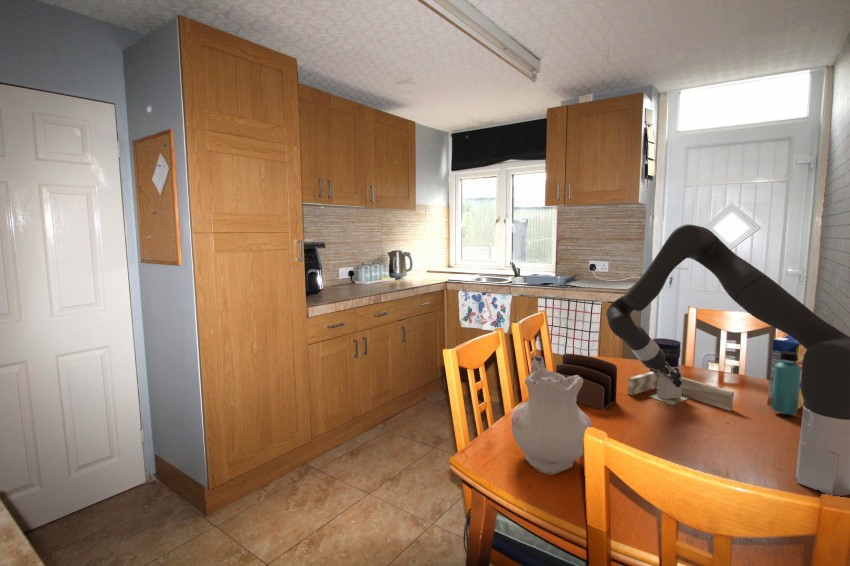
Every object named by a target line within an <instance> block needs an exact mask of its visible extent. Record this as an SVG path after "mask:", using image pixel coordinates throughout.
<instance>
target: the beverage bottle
mask: <svg viewBox="0 0 850 566" xmlns="http://www.w3.org/2000/svg"><path fill="white" fill-rule="evenodd" d="M780 358H781V359H783V360H788V361H797V354H796V353H793V352H788V351H782V352H781V354H780ZM800 374H801V368H800V367H799V366H798V365H797V364H795V363H792V362H786V361H781V362H778V363H776V364H775V372H774V382H773V390H772V391H773V394H772V399H771V400H772V401H771V402H772V404H771V405H770V406H771V410H773V411H775V412H777V413H781V414H784V415H796V414H798V412H799V409H798V406H799V404H798V400H799V396H800V395H799V394H800V393H799V392H800V391H799V388H800Z"/></svg>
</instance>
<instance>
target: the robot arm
mask: <svg viewBox="0 0 850 566" xmlns="http://www.w3.org/2000/svg"><path fill="white" fill-rule="evenodd" d="M686 259H691V260H694V261H696V262H697V263H698V264H700V265H701V266H703V267H704V268H706V269H707V270H709V271H710V272H711V273H712V274H713V276H715V277H716V279H717V280H718V281H719V283H720V285H721V286H722V287H723V289H724V291H725V292H726V293H727V295H728V296H729V297H730V298H731V299H732V300H733V301H734V302H735V303H737V304H738V305H739V306H740V307H741V308H742V309H743V310H744V311H745V312H746V313H748V314H749V315H751V316H752V317H754V318H755V319H757V320H759V321H760V322H762V323H765V324H767V325H769V326H771V327H772V328H775V329H776V330H779V331H781V332H782V333H785V334H786V335H789V336H791V337H792V338H794V339H795V340H796V341H798V342H799V343H800V344H801V345H802V346H804V347H805V348H806V349H807V350H806V352H805V354H804V357H803V362H802V376H801V393H802V396H803V399H804V403H803V407H802V414H801V415H802V416H801V424H800V434H799V443H798V451H797V452H798V453H797V462H796V470H795V471H796V472H795V478H796V480H797V484H800V485H803V486H805V487H807V488H810V489H813V490H814V491H817V490H819V491H821V492H820V493H822V494H824V493H825V495H827V494H830V495H834V496H839V497H840V496H848V495H850V336H849V335H847V334H845V332H843V331H841V330H840V329H837V328H836V327H835V326H833V325H832V324H830V323H828V322H827V321H825V320H824V319H822V318H821V317H819V316H818V315H817V314H816V313H814V312H813V311H812V310H811V309H810V308H808V307H807V306H806V305H804V304H803V303H802V302H801V301H800V300H798V299H797V298H795V296H793V295H792V294H791V293H789V291H787V290H786V289H784V288H783V286H781V285H780V284H778V283H777V282H776V281H774V280H773V279H772V278H770V277H769V276H768V275H767V274H765V273H764V272H762V271H761V270H759V269H758V268H756V266H754V265H752V264H751V263H749V262H748V261H747V260H745V259H743V258H742V257H741V256H738V255H737V254H736V253H735V252H734V251H732V250H731V249H730V248H729V247H728V246H727V245H726V244H725V243H724V242H723V241H722V240H721V239H720V238H719V237H718V235H717V236H716V234H714V233H713V231H711V230H710V229H709V228H707V227H704V226H699V225H695V224H688V223H687V224H683V225H679V226H678V227H676V228H675V229H673V231H672V232H671V233H670V235H669V236H668V238H667V239H666V240H665V242H664V243H663V246H662V247H661V249H660V250H659V252H658V253H657V254H656V256H655V258H653V260H652V262H651V263H650V265H649V266H648V267H647V269H646V270H645V271H644V273H643V274H642V275H641V276H640V277H639V279H638V280H637V281H636V282H635V283H634V284H633V285H632V286H631V287H630V288H629V290H627V292H626V293H624V294H623V295H622V296H620V297H619V298H617V299H616V300H614V301H612V303H611V304H609V306H608V308H607V309H606V313H605V316H606V318H607V319H606V320H607V323H608V326H609V329H610V330H611V332H612V333H613V334H614V335H616V336H617V337H618V338H619V339H621V340H622V341H624V343H625V344H626V345H627V346H628V347H629V348H630V349H631V352H632V353H633V354H634V355H635V356H636V358H637V359H638V360H639V362H641V364H642V365H643V366H644V367H645V368H648V369H649V371H650V370H651V371H653V372H654V373H655V374H656V373H657V374H658V375H660V373H662V374H663V375H664V376H665V377H668V378H669V379H670V380H671V381H672V382H673V383H674V384H675V386H676V387H680V386H681V384H682V382H681V381H680V377H682V374H681V371H680V372H679V370H680V369H679V370H678V368H676V367H674V369H673V368H672V367H671V366H670V365H669V364H668V363H667V362H666V361H665V353H664V352H663V351H662V350H661V348H660V347H659V346H658V345H657V344H656V343H655V341H654V340H653V339H654V338H652V337H650V335H649V334H648V333H647V332H646V330H644V328H642V326H640V325H638V324H635V321H633V318H632V315H631V314H632V312H633V311H635V312H641V311H643V310H645V309H646V308H647V307H648V306H649V305H650V304H651V303H652V302H653V301H654V300H655V299H656V298H657V297H658V296H659V294H660V293H661V292H662V290H663V288H664V287H665V284H666V281H667V280H668V277H669V276H670V275H671V273H672V272H673V271H674V270H675V268H676V267H678V266H679V264H681V263H682V262H683V261H685V260H686ZM670 375H671V376H672V377H671V376H670ZM819 491H818V492H819Z"/></svg>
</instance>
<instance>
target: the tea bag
mask: <svg viewBox="0 0 850 566" xmlns="http://www.w3.org/2000/svg"><path fill="white" fill-rule="evenodd" d="M676 368H678V370H679V372H680V373H681V371H680V367H679V366H678V367H676ZM673 369H674V368H673ZM670 376H671V375H670ZM671 377H672V376H671ZM682 377H683V376H681V377H680V381H681V382H682ZM656 394H657V396H659V397H661V398H663V399H672V398H680V397H681V396H682V395H681V394H682V384H681V386H680V387H676V386H675V384H674V383H673V382H672V381H671V380H670V379H669V378H668V377H665V376H664V375H663V374H662V373H660V375H659V377H658V380H657V388H656Z"/></svg>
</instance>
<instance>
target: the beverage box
mask: <svg viewBox="0 0 850 566" xmlns="http://www.w3.org/2000/svg"><path fill="white" fill-rule="evenodd" d="M806 350H807V349H806V348H805V347H804V346H802V345H801V344H800V343H799V342H798V341H796V340H795V339H794V338H792V337H791V336H789V335H788V334H786V335H784V336H779V337H776V338H773V339H772V349H771V358H770V370H769V381H768V392H767V403H766V405H769V406H772V405H771V404H772V402H771V401H772V400H771V399H772V394H773V391H772V390H773V382H774V372H775V364H776V363H778V362H781V361H786V362H792V363H795V364H797V365H798V366H799V367H800V368H801V374H800V388H799V391H800V392H799V393H800V394H799V395H800V396H799V400H798V404H799V406H798V408H799V409H801V408H803V407H802V406H803V403H804V399H803V396H802V393H801V376H802V362H803V357H804V354H805V352H806ZM782 351H788V352H793V353H796V354H797V361H788V360H783V359H781V358H780V354H781V352H782ZM800 407H801V408H800Z"/></svg>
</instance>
